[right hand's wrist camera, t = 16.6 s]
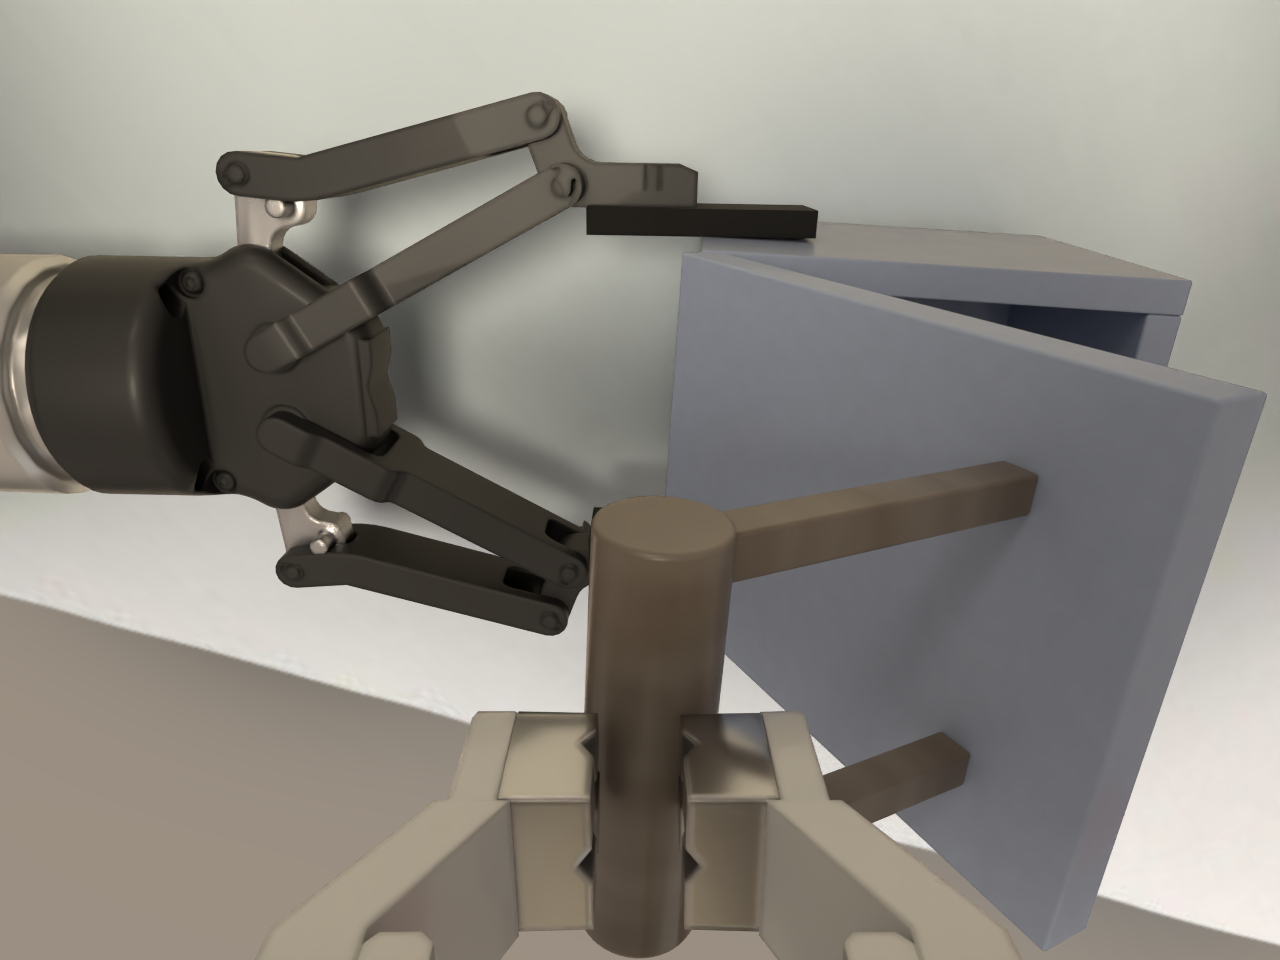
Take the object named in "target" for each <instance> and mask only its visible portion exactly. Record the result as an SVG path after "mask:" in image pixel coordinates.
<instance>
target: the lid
mask: <svg viewBox="0 0 1280 960" xmlns="http://www.w3.org/2000/svg"><path fill="white" fill-rule="evenodd" d="M1265 400H1266V394H1265V393H1264V392H1262V391H1258V390H1254V389H1250V388H1246V387H1242V386H1238V385H1234V384H1231V383H1227V382H1223V381H1219V380H1215V379H1211V378H1207V377H1203V376H1199V375H1195V374H1192V373H1188V372H1184V371H1180V370H1176V369H1172V368H1168V367H1164V366H1160V365H1156V364H1153V363H1149V362H1145V361H1141V360H1137V359H1133V358H1129V357H1125V356H1121V355H1117V354H1114V353H1110V352H1106V351H1102V350H1098V349H1094V348H1090V347H1086V346H1082V345H1078V344H1075V343H1071V342H1067V341H1063V340H1059V339H1055V338H1051V337H1047V336H1043V335H1039V334H1036V333H1032V332H1028V331H1024V330H1020V329H1016V328H1012V327H1008V326H1004V325H1000V324H997V323H993V322H989V321H985V320H981V319H977V318H973V317H969V316H965V315H961V314H958V313H954V312H950V311H946V310H942V309H938V308H934V307H930V306H926V305H922V304H919V303H915V302H911V301H907V300H903V299H899V298H895V297H891V296H887V295H883V294H880V293H876V292H872V291H868V290H864V289H860V288H856V287H852V286H848V285H844V284H841V283H837V282H833V281H829V280H825V279H821V278H817V277H813V276H809V275H805V274H802V273H798V272H794V271H790V270H786V269H782V268H778V267H774V266H770V265H766V264H763V263H759V262H755V261H751V260H747V259H743V258H739V257H735V256H731V255H727V254H724V253H720V252H703V253H684V254H683V257H682V271H681V285H680V299H679V313H678V327H677V341H676V355H675V369H674V383H673V397H672V411H671V425H670V439H669V453H668V467H667V481H666V495H665V496H641V497H633V498H627V499H623V500H619V501H616V502H613V503H610V504H608V505H606V506H605V507H603V508H602V509H600V510H599V511H598V512H597V513H596V515H595V517H594V519H593V521H592V523H591V546H590V573H589V600H588V628H587V655H586V682H585V710H584V713H598V722H599V756H598V771H599V772H600V827H599V850H598V853H597V854H596V877H597V883H596V898H595V913H594V927H593V929H586V932H587V933H588V935H589V936H590V937H591V938H592V939H593V940H594V941H595V942H596V943H597V944H598V945H600V946H601V947H603V948H604V949H606V950H608V951H610V952H612V953H614V954H617V955H620V956H624V957H630V958H650V957H655V956H659V955H661V954H664V953H667V952H668V951H670V950H672V949H674V948H675V947H677V946H678V945H679V944H680V943H681V942H682V941H683V940H684V939H685V938H686V937H687V935H688V934H689V933H690V931H691V930H690V929H684V916H683V901H682V886H681V860H682V855H681V853H680V852H679V830H678V777H679V776H680V758H679V731H680V714H718V711H719V702H720V692H721V683H722V674H723V665H724V655H726V656H727V657H729V658H730V659H731V660H732V661H733V662H734V663H735V664H736V665H737V666H738V667H739V668H740V669H741V670H742V671H744V672H745V673H746V674H747V675H748V676H749V677H750V678H751V679H752V680H753V681H754V682H755V683H756V684H757V685H759V686H760V687H761V688H762V689H763V690H764V691H765V692H766V693H767V694H768V695H769V696H770V697H771V698H772V699H774V700H775V701H776V702H777V703H778V704H779V705H780V706H781V707H782V708H783V709H784V710H785V711H800V712H801V713H803V714H804V716H805V719H806V722H807V726H808V729H809V732H810V734H811V735H812V736H813V737H814V738H815V739H816V740H817V741H818V742H820V743H821V744H822V745H823V746H824V747H825V748H826V749H827V750H828V751H829V752H830V753H831V754H832V755H833V756H835V757H836V758H837V759H838V760H839V761H840V762H841V763H842V764H843V765H844V766H845V767H844V768H842V769H839V770H836V771H833V772H831V773H828V774H825V775H823V778H824V782H825V785H826V788H827V792H828V795H829V798H830V800H842V801H844V802H845V803H846V804H848V805H849V806H850V807H852V808H853V809H854V810H855V811H857V812H858V813H859V814H861V815H862V816H863V817H864V818H866V819H867V820H868V821H869V822H871V823H873V822H876V821H878V820H880V819H883V818H885V817H888V816H890V815H892V814H895V813H896V814H897V815H898V816H899V817H900V818H901V819H902V820H903V821H904V822H905V823H906V824H907V825H908V826H909V827H911V828H912V829H913V830H914V831H915V832H916V833H917V834H918V835H919V836H920V837H921V838H922V839H923V840H924V841H926V842H927V843H928V844H929V845H930V846H931V847H932V848H933V849H934V850H935V851H936V852H937V853H938V854H939V855H941V856H942V857H943V858H944V859H945V860H946V861H947V862H948V863H949V864H950V865H951V866H952V867H953V868H954V869H956V870H957V871H958V872H959V873H960V874H961V875H962V876H963V877H964V878H965V879H966V880H967V881H968V882H969V883H971V884H972V885H973V886H974V887H975V888H976V889H977V890H978V891H979V892H980V893H981V894H982V895H983V896H984V897H985V898H987V899H988V900H989V901H990V902H991V903H992V904H993V905H994V906H995V907H996V908H997V909H998V910H999V911H1001V912H1002V913H1003V914H1004V915H1005V916H1006V917H1007V918H1008V919H1009V920H1010V921H1011V922H1012V923H1013V924H1014V925H1015V926H1017V927H1018V928H1019V929H1020V930H1021V931H1022V932H1023V933H1024V934H1025V935H1026V936H1027V937H1028V938H1029V939H1030V940H1032V941H1033V942H1034V943H1035V944H1036V945H1037V946H1038V947H1039V948H1040V949H1041V950H1043V951H1047V950H1049V949H1050V948H1052V947H1054V946H1055V945H1057V944H1059V943H1061V942H1062V941H1064V940H1066V939H1067V938H1069V937H1071V936H1072V935H1074V934H1076V933H1078V932H1079V931H1081V930H1083V929H1084V928H1086V925H1087V922H1088V919H1089V916H1090V913H1091V910H1092V907H1093V904H1094V901H1095V898H1096V896H1097V893H1098V890H1099V887H1100V884H1101V881H1102V878H1103V875H1104V872H1105V869H1106V866H1107V863H1108V860H1109V858H1110V855H1111V852H1112V849H1113V846H1114V843H1115V840H1116V837H1117V834H1118V831H1119V828H1120V825H1121V822H1122V819H1123V816H1124V814H1125V811H1126V808H1127V805H1128V802H1129V799H1130V796H1131V793H1132V790H1133V787H1134V784H1135V781H1136V778H1137V775H1138V773H1139V770H1140V767H1141V764H1142V761H1143V758H1144V755H1145V752H1146V749H1147V746H1148V743H1149V740H1150V737H1151V734H1152V731H1153V729H1154V726H1155V723H1156V720H1157V717H1158V714H1159V711H1160V708H1161V705H1162V702H1163V699H1164V696H1165V693H1166V690H1167V688H1168V685H1169V682H1170V679H1171V676H1172V673H1173V670H1174V667H1175V664H1176V661H1177V658H1178V655H1179V652H1180V649H1181V646H1182V644H1183V641H1184V638H1185V635H1186V632H1187V629H1188V626H1189V623H1190V620H1191V617H1192V614H1193V611H1194V608H1195V605H1196V603H1197V600H1198V597H1199V594H1200V591H1201V588H1202V585H1203V582H1204V579H1205V576H1206V573H1207V570H1208V567H1209V564H1210V561H1211V559H1212V556H1213V553H1214V550H1215V547H1216V544H1217V541H1218V538H1219V535H1220V532H1221V529H1222V526H1223V523H1224V520H1225V518H1226V515H1227V512H1228V509H1229V506H1230V503H1231V500H1232V497H1233V494H1234V491H1235V488H1236V485H1237V482H1238V479H1239V476H1240V474H1241V471H1242V468H1243V465H1244V462H1245V459H1246V456H1247V453H1248V450H1249V447H1250V444H1251V441H1252V438H1253V435H1254V433H1255V430H1256V427H1257V424H1258V421H1259V418H1260V415H1261V412H1262V409H1263V406H1264V403H1265Z"/></svg>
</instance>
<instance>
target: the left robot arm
mask: <svg viewBox="0 0 1280 960" xmlns="http://www.w3.org/2000/svg"><path fill="white" fill-rule="evenodd" d="M525 147H529V150H530V153H531V155H532V158H533V161H534V163H535V166H536V169H537V172H538V174H536V175H534V176H532V177H531V178H529V179H527V180H525V181H524V182H522V183H520V184H518V185H517V186H515V187H513V188H511V189H510V190H508V191H506V192H504V193H503V194H501V195H499V196H497V197H496V198H494V199H492V200H490V201H489V202H487V203H485V204H483V205H482V206H480V207H478V208H476V209H475V210H473V211H471V212H469V213H468V214H466V215H464V216H462V217H461V218H459V219H457V220H455V221H454V222H452V223H450V224H449V225H447V226H445V227H443V228H442V229H440V230H438V231H436V232H435V233H433V234H431V235H429V236H428V237H426V238H424V239H422V240H421V241H419V242H417V243H415V244H414V245H412V246H410V247H408V248H407V249H405V250H403V251H401V252H400V253H398V254H396V255H394V256H393V257H391V258H389V259H387V260H386V261H384V262H382V263H380V264H379V265H377V266H375V267H373V268H372V269H370V270H368V271H366V272H364V273H362V274H360V275H358V276H356V277H355V278H353V279H351V280H349V281H347V282H346V283H344V284H342V285H339V284H338V283H336V282H335V281H334V280H332V279H331V278H329V277H328V276H326V275H325V274H324V273H322V272H321V271H319V270H318V269H316V268H315V267H314V266H312V265H311V264H309V263H308V262H306V261H305V260H304V259H302V258H301V257H299V256H298V255H296V254H295V253H294V252H292V251H291V250H289V249H288V248H286V247H284V246H283V238H284V236H285V233H286V232H287V231H288V230H289V229H290V228H292V227H293V226H298V225H303V224H306V223H308V222H310V221H311V220H312V219H313V218H314V216H315V214H316V209H317V200H320V199H327V198H334V197H341V196H346V195H351V194H356V193H359V192H363V191H367V190H371V189H374V188H378V187H382V186H385V185H389V184H393V183H396V182H400V181H404V180H407V179H411V178H415V177H418V176H422V175H426V174H429V173H433V172H437V171H441V170H444V169H448V168H452V167H455V166H459V165H463V164H466V163H470V162H474V161H477V160H481V159H485V158H488V157H492V156H496V155H499V154H503V153H507V152H511V151H514V150H518V149H522V148H525ZM216 175H217V179H218V181H219V183H220V184H221V186H222V187H223V188H224V189H225V190H226V191H227V192H229V193H230V194H233V195H235V207H236V224H237V240H238V246H235V247H233V248H231V249H229V250H228V251H226V252H225V253H223V254H222V255H220V256H217V257H158V256H102V255H97V256H87V257H84V258H80V259H78V260H77V259H74V258H71V257H67V256H64V255H51V254H0V491H13V492H39V493H65V494H68V493H80V492H86V491H88V490H90V489H91V490H93V491H97V492H100V493H109V494H152V495H219V494H240V495H244V496H247V497H250V498H253V499H255V500H258V501H260V502H262V503H264V504H265V505H267V506H270V507H273V508H276V510H277V514H278V518H279V522H280V526H281V530H282V535H283V539H284V543H285V547H286V553H285V554H284V555H283V556H282V557H281V558H280V559H279V561H278V562H277V565H276V574H277V576H278V578H279V580H281V581H282V582H283V583H284V584H285V585H288V586H290V587H296V588H300V587H317V586H335V585H349V586H353V587H357V588H361V589H365V590H369V591H373V592H377V593H381V594H385V595H389V596H393V597H397V598H401V599H405V600H409V601H413V602H417V603H420V604H424V605H428V606H432V607H436V608H440V609H444V610H448V611H452V612H456V613H460V614H464V615H468V616H472V617H476V618H480V619H484V620H488V621H492V622H496V623H500V624H504V625H508V626H512V627H515V628H519V629H523V630H527V631H531V632H535V633H539V634H543V635H550V636H553V635H557V634H560V633H561V632H562V631H564V630H565V628H566V626H567V623H568V618H569V615H570V613H571V610H572V608H573V605H574V603H575V600H576V598H577V596H578V594H579V592H580V591H581V590H582V589H583V588H584V587H586V586H588V585H589V573H590V546H591V526H590V524H589V523H587V522H586V521H585V520H584V522H583V525H582V527H578V526H576V525H575V524H573V523H571V522H569V521H567V520H565V519H563V518H561V517H559V516H557V515H555V514H553V513H551V512H549V511H548V510H546V509H544V508H542V507H540V506H538V505H536V504H534V503H532V502H530V501H528V500H526V499H524V498H522V497H520V496H519V495H517V494H515V493H513V492H511V491H509V490H507V489H505V488H503V487H501V486H499V485H497V484H495V483H493V482H492V481H490V480H488V479H486V478H484V477H482V476H480V475H478V474H476V473H474V472H472V471H470V470H468V469H466V468H464V467H463V466H461V465H459V464H457V463H455V462H453V461H451V460H449V459H447V458H445V457H443V456H441V455H439V454H437V453H435V452H434V451H432V450H430V449H428V448H426V447H425V446H424V444H423V443H422V441H421V440H420V439H419V438H418V437H416V436H415V435H413V434H411V433H409V432H407V431H406V430H404V429H402V428H400V427H398V426H396V425H394V424H393V423H394V422H395V421H396V420H397V411H396V400H395V395H394V392H393V390H392V387H391V384H390V381H389V379H388V376H387V370H388V365H389V359H390V354H391V344H390V333H389V327H383V326H382V323H381V321H380V319H379V318H378V316H377V315H378V314H380V313H382V312H384V311H385V310H387V309H389V308H391V307H392V306H394V305H396V304H398V303H400V302H401V301H403V300H405V299H407V298H408V297H410V296H412V295H414V294H416V293H417V292H419V291H421V290H423V289H425V288H426V287H428V286H430V285H432V284H433V283H435V282H437V281H439V280H441V279H442V278H444V277H446V276H448V275H450V274H451V273H453V272H455V271H457V270H458V269H460V268H462V267H464V266H466V265H467V264H469V263H471V262H473V261H475V260H476V259H478V258H480V257H482V256H483V255H485V254H487V253H489V252H491V251H492V250H494V249H496V248H498V247H500V246H501V245H503V244H505V243H507V242H508V241H510V240H512V239H514V238H516V237H517V236H519V235H521V234H523V233H525V232H526V231H528V230H530V229H532V228H533V227H535V226H537V225H539V224H541V223H542V222H544V221H546V220H548V219H550V218H551V217H553V216H555V215H557V214H558V213H560V212H562V211H564V210H566V209H567V208H569V207H586V216H587V235H636V236H694V237H753V238H811V239H816V231H817V219H818V211H817V210H814V209H812V208H809V207H806V206H803V205H756V204H697V184H698V172H697V171H694V170H692V169H690V168H688V167H685V166H683V165H681V164H668V163H607V162H595V161H593V160H590V159H588V158H587V157H586V156H584V155H583V153H582V152H581V151H580V150H579V148H578V146H577V144H576V141H575V138H574V135H573V133H572V130H571V127H570V124H569V121H568V118H567V112H566V110H565V108H564V106H563V105H562V104H561V103H560V102H559V101H558V100H556V99H555V98H553V97H551V96H549V95H547V94H544V93H541V92H531V93H528V94H524V95H521V96H517V97H513V98H510V99H506V100H503V101H499V102H495V103H492V104H488V105H485V106H481V107H477V108H474V109H470V110H467V111H463V112H459V113H456V114H452V115H449V116H445V117H441V118H438V119H434V120H431V121H427V122H423V123H420V124H416V125H413V126H409V127H405V128H402V129H398V130H395V131H391V132H387V133H384V134H380V135H377V136H373V137H369V138H366V139H362V140H359V141H355V142H351V143H348V144H344V145H341V146H337V147H333V148H330V149H326V150H323V151H319V152H315V153H312V154H308V155H301V154H292V153H283V152H274V151H233V152H227V153H225V154H224V155H222V156H221V157H220V159H219V160H218V162H217V165H216ZM334 482H336V483H338V484H340V485H342V486H344V487H346V488H348V489H350V490H352V491H354V492H356V493H358V494H360V495H362V496H364V497H366V498H368V499H370V500H373V501H375V502H380V503H382V502H391V503H394V504H396V505H398V506H400V507H402V508H404V509H406V510H408V511H410V512H412V513H414V514H416V515H418V516H420V517H422V518H424V519H426V520H428V521H430V522H432V523H434V524H436V525H438V526H440V527H442V528H444V529H446V530H448V531H450V532H452V533H454V534H456V535H458V536H460V537H462V538H464V539H466V540H468V541H470V542H472V543H474V544H476V545H478V546H480V547H482V548H484V549H486V550H488V551H490V552H492V553H494V554H496V555H498V556H495V555H492V554H488V553H484V552H480V551H476V550H472V549H468V548H465V547H461V546H457V545H453V544H449V543H445V542H441V541H438V540H434V539H430V538H426V537H422V536H418V535H414V534H411V533H407V532H403V531H399V530H395V529H391V528H387V527H382V526H378V525H370V524H352V523H351V518H350V516H349V515H348V514H347V513H345V512H334V511H329V510H327V509H325V508H323V507H322V506H321V505H320V504H319V503H318V502H317V500H316V498H315V496H316V495H318V494H319V493H320V492H322V491H323V490H325V489H326V488H327V487H329V486H330V485H332V484H333V483H334ZM600 509H602V507H594V510H593V516H592V521H593V519H594V517H595V515H596V513H597V512H598V511H599V510H600ZM591 523H592V522H591ZM499 556H500V557H499Z"/></svg>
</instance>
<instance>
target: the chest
mask: <svg viewBox="0 0 1280 960" xmlns="http://www.w3.org/2000/svg"><path fill="white" fill-rule="evenodd" d="M703 252H720V253H724V254H727V255H731V256H735V257H739V258H743V259H747V260H751V261H755V262H759V263H763V264H766V265H770V266H774V267H778V268H782V269H786V270H790V271H794V272H798V273H802V274H805V275H809V276H813V277H817V278H821V279H825V280H829V281H833V282H837V283H841V284H844V285H848V286H852V287H856V288H860V289H864V290H868V291H872V292H876V293H880V294H883V295H887V296H891V297H895V298H899V299H903V300H907V301H911V302H915V303H919V304H922V305H926V306H930V307H934V308H938V309H942V310H946V311H950V312H954V313H958V314H961V315H965V316H969V317H973V318H977V319H981V320H985V321H989V322H993V323H997V324H1000V325H1004V326H1008V327H1012V328H1016V329H1020V330H1024V331H1028V332H1032V333H1036V334H1039V335H1043V336H1047V337H1051V338H1055V339H1059V340H1063V341H1067V342H1071V343H1075V344H1078V345H1082V346H1086V347H1090V348H1094V349H1098V350H1102V351H1106V352H1110V353H1114V354H1117V355H1121V356H1125V357H1129V358H1133V359H1137V360H1141V361H1145V362H1149V363H1153V364H1156V365H1160V366H1164V367H1167V365H1168V362H1169V358H1170V355H1171V351H1172V348H1173V345H1174V341H1175V338H1176V334H1177V331H1178V327H1179V324H1180V321H1181V317H1180V316H1181V315H1183V312H1184V309H1185V306H1186V302H1187V299H1188V295H1189V292H1190V289H1191V285H1192V281H1190V280H1187V279H1183V278H1180V277H1177V276H1173V275H1170V274H1166V273H1163V272H1160V271H1156V270H1153V269H1150V268H1146V267H1143V266H1140V265H1136V264H1133V263H1130V262H1126V261H1123V260H1120V259H1116V258H1113V257H1110V256H1106V255H1103V254H1099V253H1096V252H1093V251H1089V250H1086V249H1083V248H1079V247H1076V246H1073V245H1069V244H1066V243H1063V242H1059V241H1056V240H1053V239H1049V238H1045V237H1042V236H1034V235H1018V234H1002V233H986V232H970V231H954V230H939V229H923V228H907V227H891V226H875V225H859V224H843V223H827V222H817V231H816V239H811V238H753V237H701V239H700V252H699V253H703Z"/></svg>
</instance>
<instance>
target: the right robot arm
mask: <svg viewBox="0 0 1280 960" xmlns="http://www.w3.org/2000/svg"><path fill="white" fill-rule="evenodd" d="M598 756H599V722H598V713H568V712H521V711H519V712H518V713H517V712H515V711H478V712H477V713H476V714H475V715H474V717H473V718H472V721H471V724H470V727H469V731H468V734H467V737H466V741H465V744H464V747H463V751H462V754H461V757H460V760H459V764H458V767H457V770H456V773H455V777H454V780H453V783H452V787H451V790H450V793H449V796H448V800H435V801H434V802H432V803H431V804H430V805H429V806H427V807H426V808H425V809H423V810H422V811H421V812H419V813H418V814H417V815H416V816H414V817H413V818H412V819H411V820H409V821H408V822H407V823H405V824H404V825H403V826H401V827H400V828H399V829H398V830H396V831H395V832H394V833H392V834H391V835H390V836H389V837H387V838H386V839H385V840H383V841H382V842H381V843H379V844H378V845H377V846H376V847H374V848H373V849H372V850H370V851H369V852H368V853H367V854H365V855H364V856H363V857H362V858H360V859H359V860H358V861H356V862H355V863H354V864H352V865H351V866H350V867H349V868H347V869H346V870H345V871H343V872H342V873H341V874H340V875H338V876H337V877H336V878H334V879H333V880H332V881H330V882H329V883H328V884H327V885H325V886H324V887H323V888H321V889H320V890H319V891H317V892H316V893H315V894H314V895H312V896H311V897H310V898H309V899H307V900H306V901H305V902H303V903H302V904H301V905H299V906H298V907H297V908H296V909H294V910H293V911H292V912H290V913H289V914H288V915H287V916H285V917H284V918H283V919H281V920H280V921H279V922H277V923H276V924H275V925H274V926H272V927H271V928H270V930H269V932H268V934H267V936H266V938H265V940H264V942H263V944H262V946H261V948H260V951H259V953H258V955H257V957H256V959H255V960H500V959H501V958H502V957H503V956H504V954H505V953H506V952H507V950H508V949H509V948H510V947H511V945H512V944H513V943H514V941H515V940H516V939H517V938H518V936H519V934H518V931H552V930H586V929H593V927H594V913H595V898H596V883H597V877H596V854H597V853H598V850H599V827H600V772H599V771H598ZM679 758H680V776H679V777H678V830H679V852H680V853H681V855H682V860H681V886H682V901H683V916H684V929H690V930H725V931H759V936H760V937H761V938H762V940H763V941H764V942H765V944H766V945H767V946H768V948H769V949H770V950H771V951H772V953H773V954H774V955H775V957H776V958H777V959H778V960H1022V959H1021V956H1020V954H1019V952H1018V950H1017V948H1016V946H1015V944H1014V942H1013V940H1012V938H1011V936H1010V933H1009V931H1008V929H1006V928H1005V927H1004V926H1003V925H1001V924H1000V923H999V922H998V921H996V920H995V919H994V918H992V917H991V916H990V915H989V914H987V913H986V912H985V911H983V910H982V909H981V908H980V907H978V906H977V905H976V904H974V903H973V902H972V901H971V900H969V899H968V898H967V897H965V896H964V895H963V894H962V893H960V892H959V891H958V890H957V889H955V888H954V887H953V886H951V885H950V884H949V883H947V882H946V881H945V880H944V879H942V878H941V877H940V876H939V875H937V874H936V873H935V872H934V871H932V870H931V869H930V868H928V867H927V866H926V865H925V864H923V863H922V862H921V861H919V860H918V859H917V858H916V857H914V856H913V855H912V854H910V853H909V852H908V851H907V850H905V849H904V848H903V847H901V846H900V845H899V844H898V843H896V842H895V841H894V840H893V839H891V838H890V837H889V836H887V835H886V834H885V833H884V832H882V831H881V830H880V829H878V828H877V827H876V826H875V825H873V824H872V823H871V822H869V821H868V820H867V819H866V818H864V817H863V816H862V815H861V814H859V813H858V812H857V811H855V810H854V809H853V808H852V807H850V806H849V805H848V804H846V803H845V802H844V801H842V800H830V798H829V795H828V792H827V788H826V785H825V782H824V778H823V775H822V772H821V769H820V765H819V762H818V759H817V755H816V752H815V749H814V745H813V742H812V739H811V736H810V732H809V729H808V726H807V722H806V719H805V716H804V714H803V713H801V712H800V711H778V712H760V713H729V714H680V731H679Z"/></svg>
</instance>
